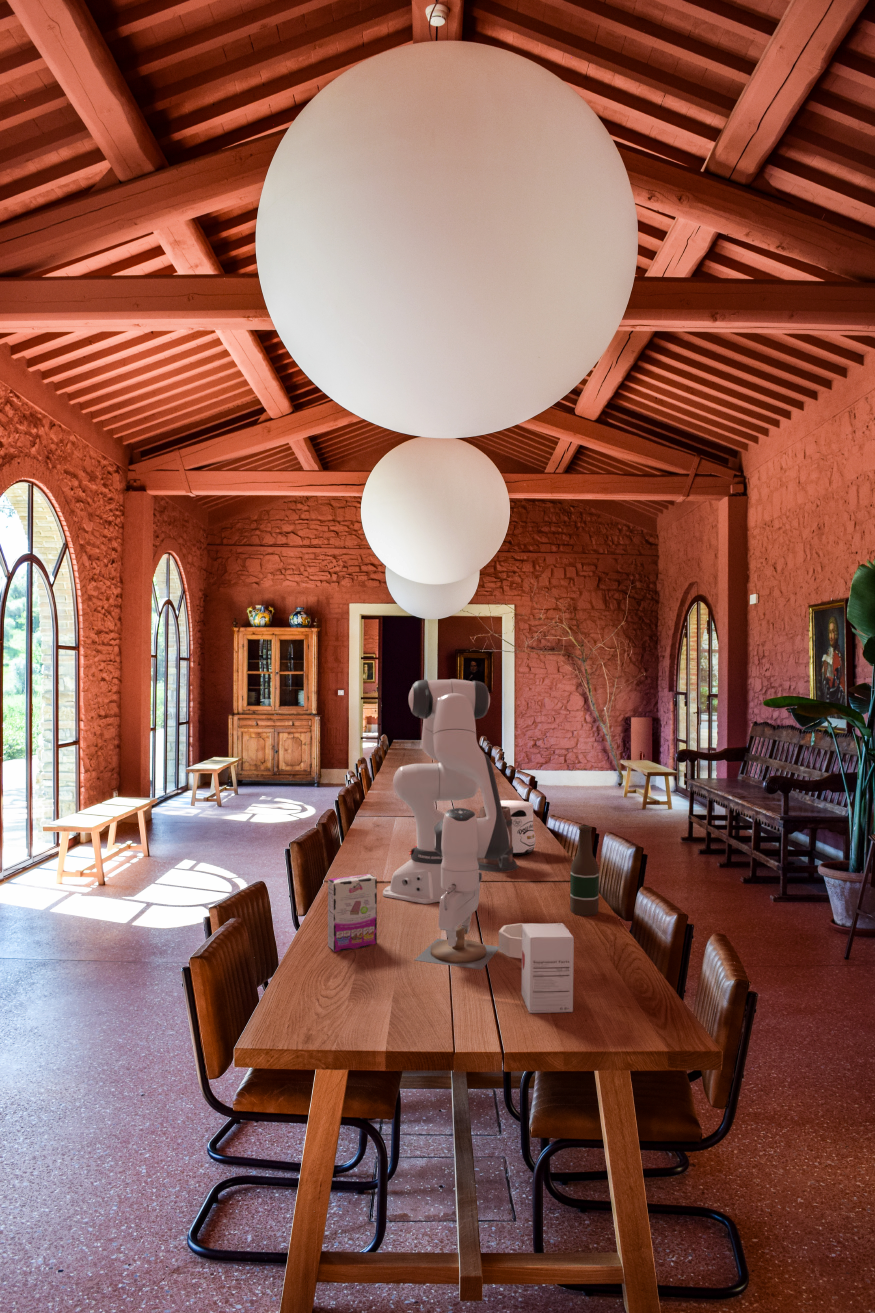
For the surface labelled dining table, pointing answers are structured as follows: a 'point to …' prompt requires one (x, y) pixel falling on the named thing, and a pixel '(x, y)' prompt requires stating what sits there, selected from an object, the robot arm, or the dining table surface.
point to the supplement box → (547, 968)
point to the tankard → (507, 859)
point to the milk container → (521, 826)
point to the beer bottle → (584, 877)
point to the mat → (480, 964)
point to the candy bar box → (352, 912)
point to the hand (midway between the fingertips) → (458, 939)
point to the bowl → (511, 940)
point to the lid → (458, 949)
